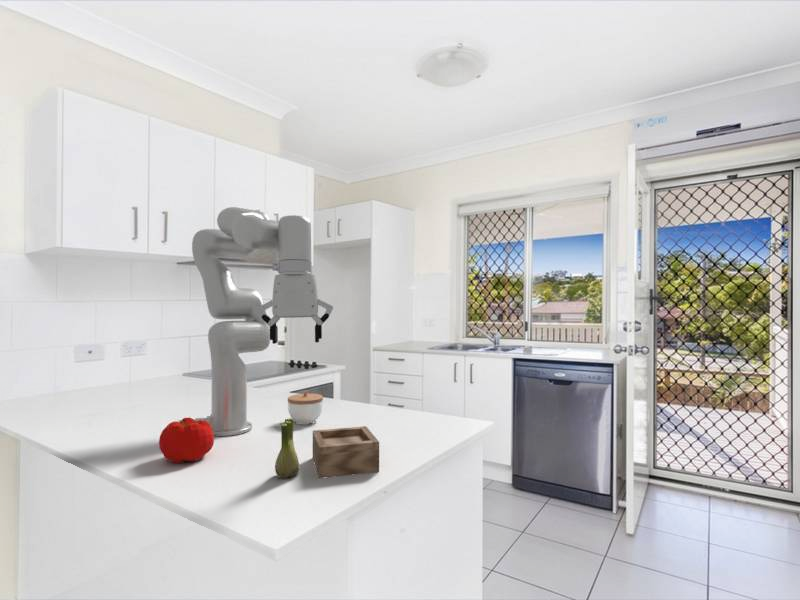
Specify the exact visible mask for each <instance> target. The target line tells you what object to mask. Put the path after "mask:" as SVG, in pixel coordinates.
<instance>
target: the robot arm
mask: <svg viewBox="0 0 800 600" xmlns="http://www.w3.org/2000/svg"><path fill="white" fill-rule="evenodd" d="M216 222H217V226H218V228H219V229H218V228H217V229H215V228H205V229H200V230H198V231H197V232H195V234H194V235H193V238H192V243H191V250H192V251H191V252H192V259H193V260H194V263H195V266H196V268H197V271H198V272H199V274H200V277H201V279H202V284H203V288H204V294H205V299H206V300H205V301H206V305H207V309H208V313H209V314H210V316H211V317H212V318H214V319H216V320H224V321H219V322H216V323H214V324H213V325H211V327H210V328H209V329H208V333H207V340H208V345H209V346H208V347H209V352H210V353H209V354H210V360H211V361H210V362H211V412H210V413H211V414H210V415H209V416H206V417H195V418H194V420H196V422H197V420H198V421H199V420H204V421H207V422H208V423H209V424H210V425H211V428H212V430H213V436H215V437H226V436H227V437H228V436H235V435H236V436H237V435H241V434H244V433H248V432H249V431H251V430H252V429H253V423H252V422H250V421H248V420H247V416H248V415H247V403H248V402H247V397H248V396H247V395H248V394H247V391H248V389H247V382H248V379H247V378H248V377H247V375H248V374H247V373H248V372H247V371H248V370H247V367H246V364H245V362H244V361H243V360H242V358H241V357H240V355H239V354H243V353H244V354H247V353H257V352H263V351H265V350H266V349H268V347H269V346H270V344H271V341H272V344H277V343H279V340H278V339H279V338H278V337H279V336H278V335H279V334H278V333H279V329H278V326H277V323H278V322H279V321H280V319H281V318H282V319H285V318H295V319H296V318H312V320H313V321H314V322H315V325H314V343H319V342H320V339H321V340H322V339H323V338H322V337H323V336H322V335H323V333H322V332H323V330H322V329H323V328H322V325H323V323H325V322H326V321H327V320H328V319H329V317H330V316H331V314H332V311H333V310H334V306H333V305H331V304H329V303H327V302H326V301H323V300H321V299H319V298H318V288H317V280H316V276H315V274H312V273H313V272H312V271H313V268H312V263H313V262H312V224H311V220H310V219H309V218H307V217H306V216H303V215H296V214H295V215H285V216H281V217H280V218H279V219H278V220H274V219H273V220H272V219H270V218H269V216H268V215H267V214H266V213H264V212H263V211H260V210H256V209H255V210H254V209H248V208H241V207H235V206H234V207H233V206H231V207H230V206H229V207H226V208H224V209H222V210H221V211H220V212H219V213H218V216H217V218H216ZM257 251H265V252H275V253H276V252H277V253H278V262H277V264H276V263H275V264H272V266H271V270H272V271H275V272H278V274H275V275H274V279H273V286H272V299H271V300H270V301H267V302H266V303H265V302H264V299H263V297H262V295H261V294H260V293H259V292H258V291H257V290H256V289H254V288H247V287H244V288H243V287H241V288H240V287H237V286H236V285H235V282H234V277H233V274H232V272H231V271H230V269H229V268H228V267H227V266H226V265H225V264H224V263H223V262H222V261H221V260H220V259H230V260H248V259H250V258H252V257H253V256H254V254H255V253H256V252H257ZM219 258H220V259H219ZM319 306H320V307H322V308H324V309H325V313H324V314H323V315H322V316H321V317H320V316H319V315H318V314H319V313H318V312H319ZM270 308H272V309H271V310H272V311H271V312H272V317H270V316H269V315H268V314H267V312H266V310H268V309H270Z"/></svg>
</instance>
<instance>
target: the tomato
mask: <svg viewBox="0 0 800 600" xmlns="http://www.w3.org/2000/svg"><path fill="white" fill-rule="evenodd" d="M159 435H160V436H159V439H158V447H159V450H160V452H161V454H162V455H163V457H164V458H165V459H166V460H167V461H169V462H172V463H175V464H182V463H183V462H186V461H187V462H195V461H198V460H199V459H201V458H203V457H204V456H206V455H207V454H208V453H209V452H210V451H211V450H212V448H213V447H214V443H215V437H214V436H213V430H212V428H211V425H210V424H209V423H208V422H207V421H204V420H199V421H198V420H197V422H196V420H195V418H191V417H184V418H182V419H181V420H179V419H178V420H177V421H172V422H169V423H168V424H167V425H166V426H165V428H163V430H162V431H161V433H160V434H159Z"/></svg>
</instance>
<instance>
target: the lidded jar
mask: <svg viewBox="0 0 800 600" xmlns="http://www.w3.org/2000/svg"><path fill="white" fill-rule="evenodd" d="M323 401H324V396H323V395H322V394H318V393H308V391H307V390H306V391H303V393H297V394H293V395H290V396H288V397H287V409H288V413H289V416H290V418H292V419H293V422H296V423H298V424H297V425H310V424H309V423H312V424H314V423H316V421H317V420H318V419H319V417H320V416H321V413H322V409H323ZM313 422H314V423H313ZM296 423H295V424H296Z"/></svg>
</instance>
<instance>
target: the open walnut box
mask: <svg viewBox="0 0 800 600" xmlns="http://www.w3.org/2000/svg"><path fill="white" fill-rule="evenodd" d="M312 460H313V461H312V462H313V463H315V464H314V466H316V467H315V469H317V470H316V473H317V472H318V473H317V475H319V476H318V478H319V479H325V478H324V477H328V478H334V477H333V476H336V477H343V476H342V475H345V476H353V475H352V474H354V475H362V474H368V473H369V474H370V473H377V472H380V440H378V439H377V437H376V436H375V435H374V434H373V433H372V432H371V431H370V429H369V428H368V426H366V425H364V426H356V427H355V426H353V427H343V428H329V429H327V428H326V429H317V430H312Z"/></svg>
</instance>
